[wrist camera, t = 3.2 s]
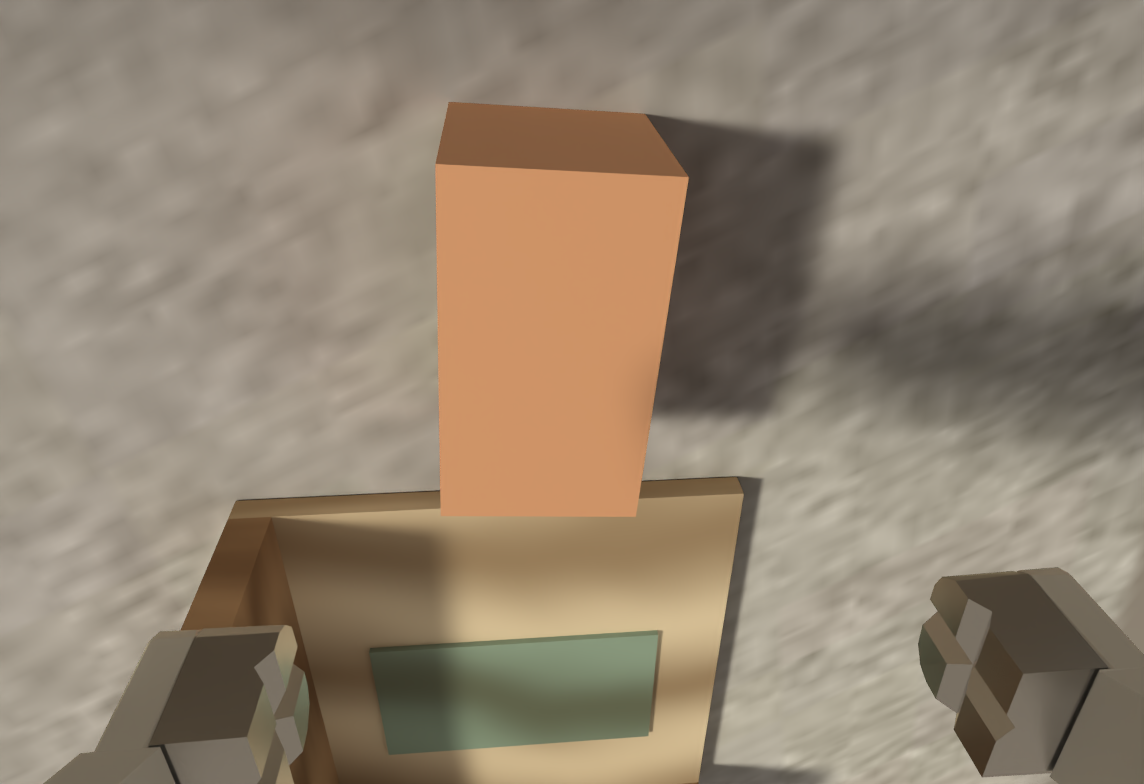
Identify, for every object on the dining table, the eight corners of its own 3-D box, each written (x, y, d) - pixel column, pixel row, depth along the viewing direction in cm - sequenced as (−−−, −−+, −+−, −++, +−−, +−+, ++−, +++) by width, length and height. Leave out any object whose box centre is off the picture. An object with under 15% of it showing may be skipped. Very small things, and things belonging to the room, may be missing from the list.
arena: (235, 501, 23) (167, 662, 18) (736, 477, 24) (798, 623, 19) (323, 809, 32) (291, 976, 27) (691, 781, 33) (726, 936, 28)
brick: (449, 100, 18) (435, 163, 14) (644, 112, 18) (688, 177, 14) (450, 397, 22) (440, 516, 18) (609, 401, 23) (635, 516, 18)
